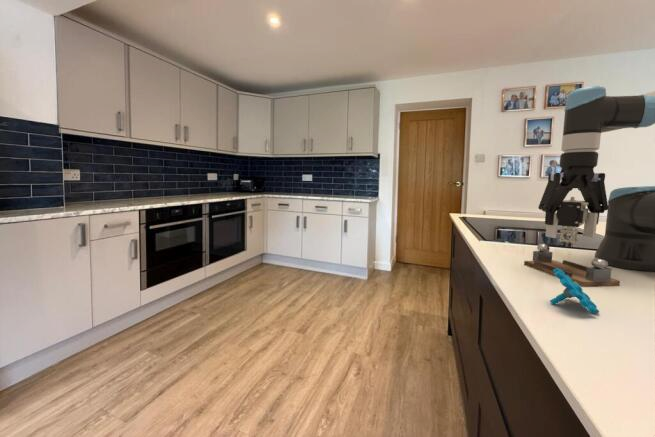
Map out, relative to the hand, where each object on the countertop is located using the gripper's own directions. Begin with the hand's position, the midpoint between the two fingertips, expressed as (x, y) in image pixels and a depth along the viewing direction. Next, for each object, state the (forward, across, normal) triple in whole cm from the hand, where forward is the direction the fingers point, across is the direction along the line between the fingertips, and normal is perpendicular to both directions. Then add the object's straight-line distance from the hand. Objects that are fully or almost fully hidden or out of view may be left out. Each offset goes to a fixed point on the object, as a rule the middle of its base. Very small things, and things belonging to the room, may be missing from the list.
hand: (569, 237), depth 80 cm
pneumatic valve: (+2, 0, 0) cm, 2 cm away
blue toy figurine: (+11, +17, +20) cm, 28 cm away
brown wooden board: (+10, 0, 0) cm, 10 cm away
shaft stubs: (+9, 0, 0) cm, 9 cm away
